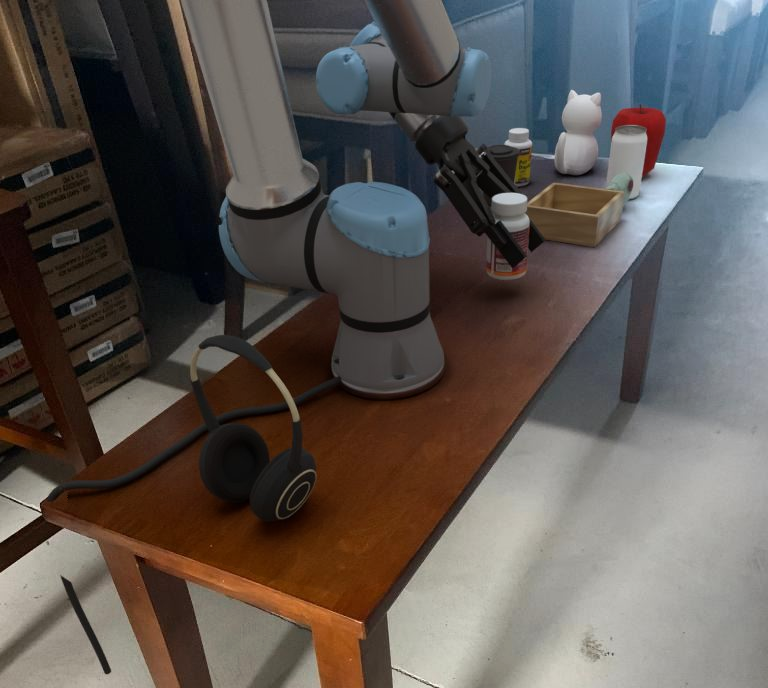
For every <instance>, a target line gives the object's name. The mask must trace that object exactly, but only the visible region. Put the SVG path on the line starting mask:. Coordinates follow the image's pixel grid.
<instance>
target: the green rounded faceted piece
mask: <svg viewBox="0 0 768 688" xmlns="http://www.w3.org/2000/svg"><path fill="white" fill-rule="evenodd" d="M605 189H610V190H618V191H625V194H624V201H623V206H625V204H627V202H628V201H629V200H628V199H629V197H630V195H631V192H632V189H633V179H632V176H631V175H630V174H628V173H620V174H618V175H616V176H615V177H614V178H613V179H612V180H611V182H610V184H609V186H608V187H607V188H606V187H605Z"/></svg>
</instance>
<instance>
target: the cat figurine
mask: <svg viewBox="0 0 768 688" xmlns="http://www.w3.org/2000/svg"><path fill="white" fill-rule="evenodd" d="M601 100H602V94H601V93H600V92H595V93H593V94H592V95H590V94H578V93H577V92H576V91H575V90H574V89H570V91H569V93H568V96H567V100H566V101H567V103H566V105H565V106H564V108H563V110H562V114H561V124H562V127H563V128H564V130H565V131H566V132H565V131H563V132H561V133H560V135H559V137H558V141H557V143H556V145H555V150H554V156H553V157H554V159H553V163H554V167H555V169H556V171H557V172H558V173H560V174H562V175H571V176H581V175H584V174H586V173H587V172H589V170H591V169H592V168H593V167H594V165H595V164H596V163H597V161H598V158H599V157H598V156H599V145H598V140H597V138H596V137H595V135H594V134H593V133H595V132H596V131H597V130H598V129H599V128H600V126H601V124H602V118H603V117H602V116H603V113H602V108H601Z"/></svg>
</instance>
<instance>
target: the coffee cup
mask: <svg viewBox="0 0 768 688" xmlns="http://www.w3.org/2000/svg"><path fill="white" fill-rule="evenodd" d="M487 148H488V149H489V151H490V153H491V155H492V157H493V158H494V159H495V160H496V162H497V163H498V164H499V165H500V167H501V168H502V169H503V170H504V172H505V173H506V174H507V175H508V177H509V178H510V179H511V180H512V182H513V183H514V180H515V173H516V167H517V160H518V156H520V154H521V152H520V151H519V149H518V148H515V147H511V146H508V145H504V144H494V145H490V146H487ZM482 195H483V197H484V199H485V201H486V203H487V205H488V206H492V199H491V198H489V197H488V196H487V195H486V194H485V193H484V192H483V191H482Z"/></svg>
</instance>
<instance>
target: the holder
mask: <svg viewBox="0 0 768 688" xmlns="http://www.w3.org/2000/svg"><path fill="white" fill-rule="evenodd" d="M624 194H625V191H618V190H610V189H606V188H602V187H601V188H600V187H594V186H586V185H577V184H570V183H569V184H568V183H561V182H552V183H550V184H549V185H548V186H547V187H546V188H544V189H542V191H540V192H539V193H538V194H537V195H535V196H534V197H533V198H532V199H530V200H529V201H527V211H526V212H525V213H526V214H527V216H528V217H529V218H530V220H531V221H532V222H533V224H534V225H535V226H536V228H537V229H538V230H539V232H540V233H541V234H542V236H543V237H544V238H545V240H547V241H553V242H558V243H564V244H570V245H578V246H582V247H588V248H589V247H590V248H596V247H597V245H598V244H600V243H601V241H603V239H604V238H606V237H607V236H608V234H609V233H610V232H611V231H612V230H614V229H615V227H617V225H618V224H620V222H621V221H622V216H623V215H622V214H623V208H624V205H623V201H624Z"/></svg>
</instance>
